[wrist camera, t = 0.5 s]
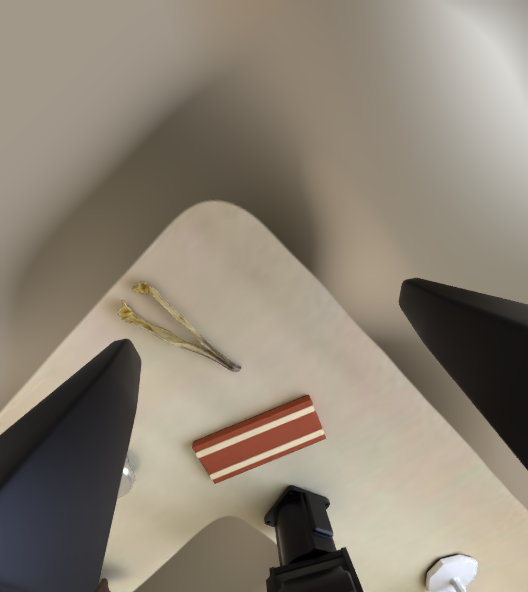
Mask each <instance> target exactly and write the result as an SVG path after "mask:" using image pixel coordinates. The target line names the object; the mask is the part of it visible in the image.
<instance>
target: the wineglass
mask: <svg viewBox="0 0 528 592" xmlns="http://www.w3.org/2000/svg"><path fill="white" fill-rule="evenodd" d="M477 566H478V563H477V561H476V560H475V559H473V558H470V557H467V556H464V555H461V554H459V555H455V556H451V557H447V558H443V559H440V560H439V561H438V562H437V563H436V564H435V565H434V566H433V567H432V568H431V569H430V570H429V571H428V572H427V578H426V589H427V590H428V592H467V591H466V589H465V587H466V586H467V585H468V584H469V583H470V582H471V581H472V580H473V579H474V578H475V576H476V571H477Z"/></svg>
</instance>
